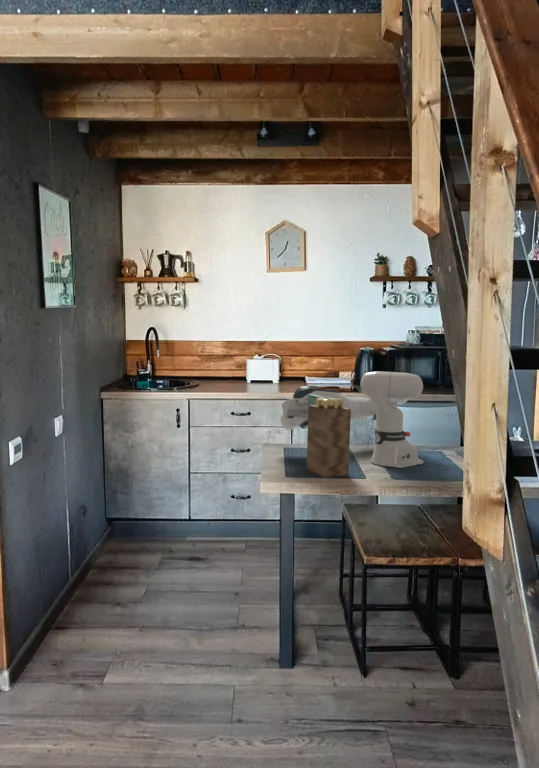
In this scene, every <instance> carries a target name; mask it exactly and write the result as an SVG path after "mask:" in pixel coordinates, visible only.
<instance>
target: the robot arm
mask: <svg viewBox="0 0 539 768" xmlns="http://www.w3.org/2000/svg"><path fill="white" fill-rule="evenodd" d="M360 389H361V391H362V393H363V394H364V396H367V397H368V398H366V397H361V396H360V397H358V396H357V397H349V396H347V395H344V393H342V392H340V391H338V390H332V389H326V388H324V389H323V388H316V387H313V386H309V385H304V386H302V385H301V386H300V387H297V388H296V389H295V390H294V392H293V394H292V395H293V396H292V398H288V399H286V400H285V401H284V402H283V403H281V409H282V414H281V416H280V423H281V426H282V427H283V428H284V429H286V430H289V431H290V430H294V429H296V428H298V427H299V428H303V429H308V405H316V404H314V403H310V402H307V401H308V400H309V398H308V396H307V394H315V395H319V396H322V397H326V398H337V399H342V400H343V407H345V408H349V409H351V418H350V422H355V421H361V420H364V419H367V418H368V417H372V420H373V421H375V423H376V425H375V429H374V448H373V453H372V456H371V459H370V462H371V463H372V464H375V465H378V466H381V467H382V466H383V467H391V468H399V469H402V468H407V467H413V466H417V465H418V464H419V465H423V464H424V460H422V459H421V458H419V453H418V449H417V447H415V446H414V445H413V444H412V443H411V442H409V441H408V440H407V439H406V437H408V438H409V437H410V436H411V432H409V431H404V430H403V426H404V413H403V411H402V410H401V409H400V408H399V407H398V406H401V405H404V404H406V403H407V402H408V400H409V399H410V400H412V399H417V398H418V397H420V395H421V394H422V392H423V390H424V384H423V380H422V378H421V376H419V375H418V374H414V373H409V372H399V371H398V372H397V371H396V372H395V371H382V370H381V371H379V370H378V371H377V370H376V371H369V372H365V373H364V374H363V375H362V377H361V379H360Z"/></svg>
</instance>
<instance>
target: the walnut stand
mask: <svg viewBox="0 0 539 768" xmlns="http://www.w3.org/2000/svg"><path fill="white" fill-rule="evenodd" d="M350 418H351V409H349V408H345V407H343V408H338V409H324V408H318V407H317V406H316V405H308V428H307V441H306V442H307V444H306V470H309V471H310V472H312V473H314V474H316V475H318V476H320V477H321V478H324V479H325V478H333V477H335V478H336V477H344V476H349V470H350V469H349V466H350V441H351V436H350V435H351V421H350Z"/></svg>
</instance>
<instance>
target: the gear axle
mask: <svg viewBox="0 0 539 768" xmlns="http://www.w3.org/2000/svg"><path fill="white" fill-rule="evenodd" d="M307 396H308V398H309V400H308V401H307V402H310V403H314V404H316V406H317V407H318V408H324V409H338V408H343V400H342V399H337V398H326V397H322V396H319V395H315V394H307Z"/></svg>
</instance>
